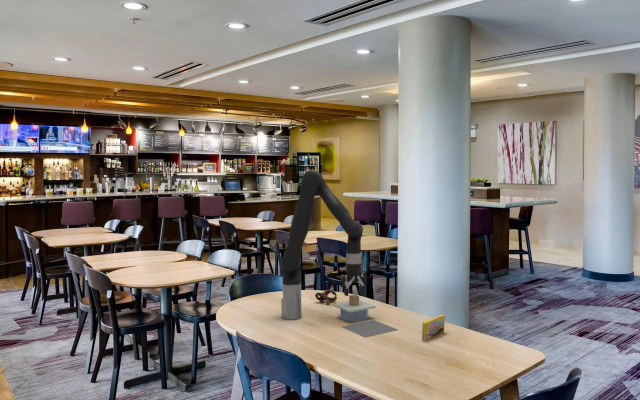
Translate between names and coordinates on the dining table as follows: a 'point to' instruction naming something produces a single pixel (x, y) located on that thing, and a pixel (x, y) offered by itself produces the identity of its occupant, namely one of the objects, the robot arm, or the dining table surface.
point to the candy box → (433, 327)
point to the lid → (354, 304)
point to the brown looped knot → (326, 296)
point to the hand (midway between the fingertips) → (353, 294)
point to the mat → (369, 328)
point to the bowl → (354, 315)
